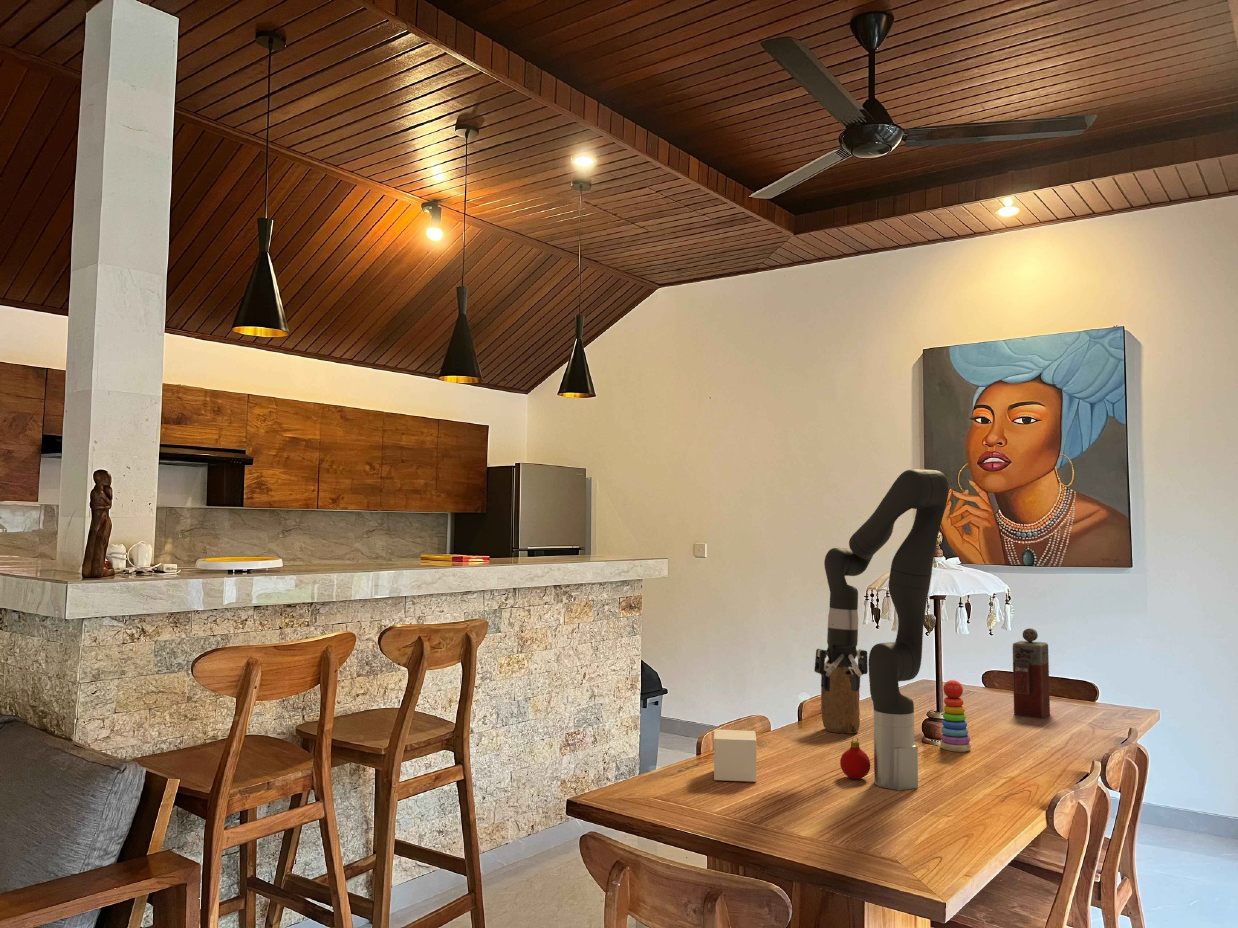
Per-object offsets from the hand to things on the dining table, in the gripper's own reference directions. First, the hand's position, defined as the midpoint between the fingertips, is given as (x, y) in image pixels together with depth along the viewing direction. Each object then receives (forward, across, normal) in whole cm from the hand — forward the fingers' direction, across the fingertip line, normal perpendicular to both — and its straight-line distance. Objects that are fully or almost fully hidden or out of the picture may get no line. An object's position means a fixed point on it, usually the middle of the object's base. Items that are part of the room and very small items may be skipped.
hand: (840, 690), depth 227 cm
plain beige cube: (+21, -28, +2) cm, 35 cm away
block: (+19, +25, +35) cm, 47 cm away
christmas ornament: (+19, -1, -9) cm, 21 cm away
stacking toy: (+17, +43, +7) cm, 47 cm away
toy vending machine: (+15, +98, +36) cm, 106 cm away
